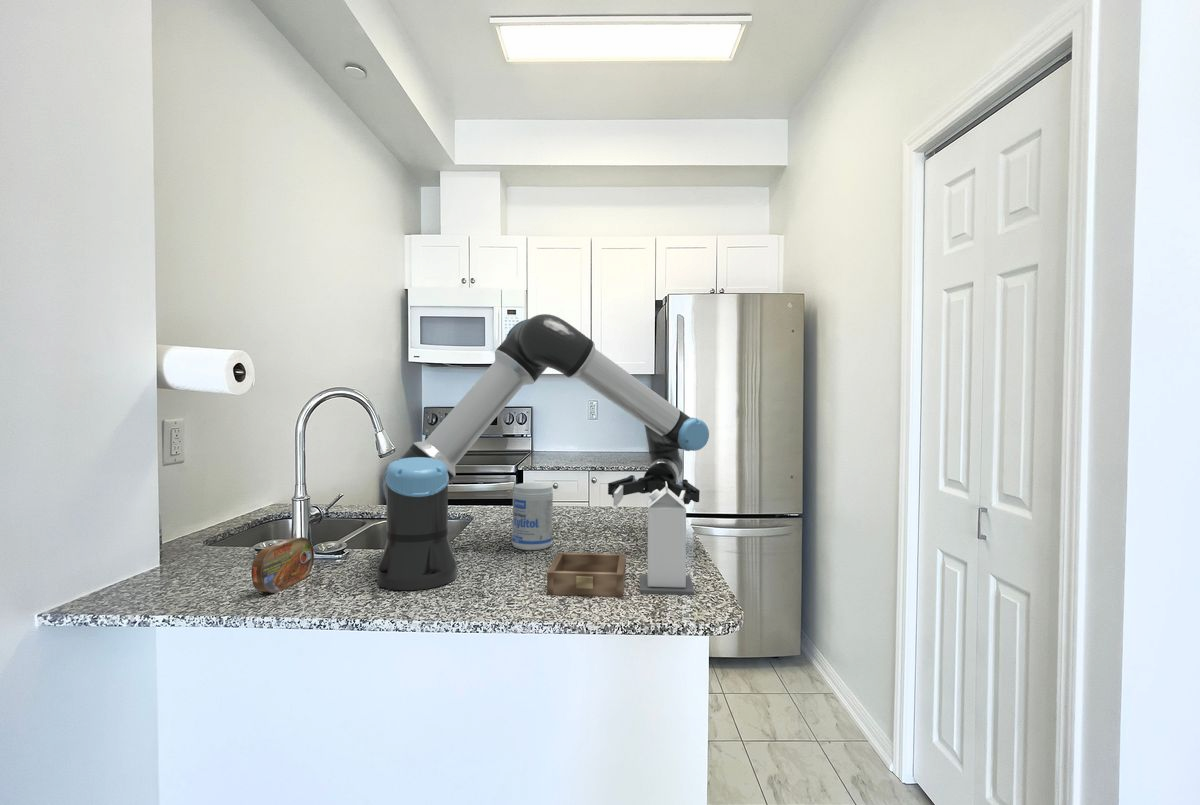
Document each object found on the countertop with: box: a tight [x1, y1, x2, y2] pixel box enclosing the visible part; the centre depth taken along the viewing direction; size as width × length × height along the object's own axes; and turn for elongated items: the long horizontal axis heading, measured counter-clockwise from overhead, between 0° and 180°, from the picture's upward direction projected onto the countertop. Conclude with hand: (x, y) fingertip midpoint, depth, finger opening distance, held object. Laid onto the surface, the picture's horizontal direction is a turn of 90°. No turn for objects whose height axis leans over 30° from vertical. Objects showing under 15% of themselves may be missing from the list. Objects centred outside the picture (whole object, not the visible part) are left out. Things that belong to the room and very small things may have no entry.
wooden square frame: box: [546, 552, 627, 598], centre depth 117 cm, size 14×15×4 cm
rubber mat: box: [639, 573, 695, 596], centre depth 117 cm, size 10×10×1 cm
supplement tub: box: [511, 482, 554, 551], centre depth 146 cm, size 10×10×15 cm
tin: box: [251, 536, 315, 594], centre depth 116 cm, size 15×3×8 cm, turn 171°
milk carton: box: [646, 481, 687, 588], centre depth 116 cm, size 7×7×19 cm
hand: (647, 502), depth 126 cm, fingers open, 13 cm apart
